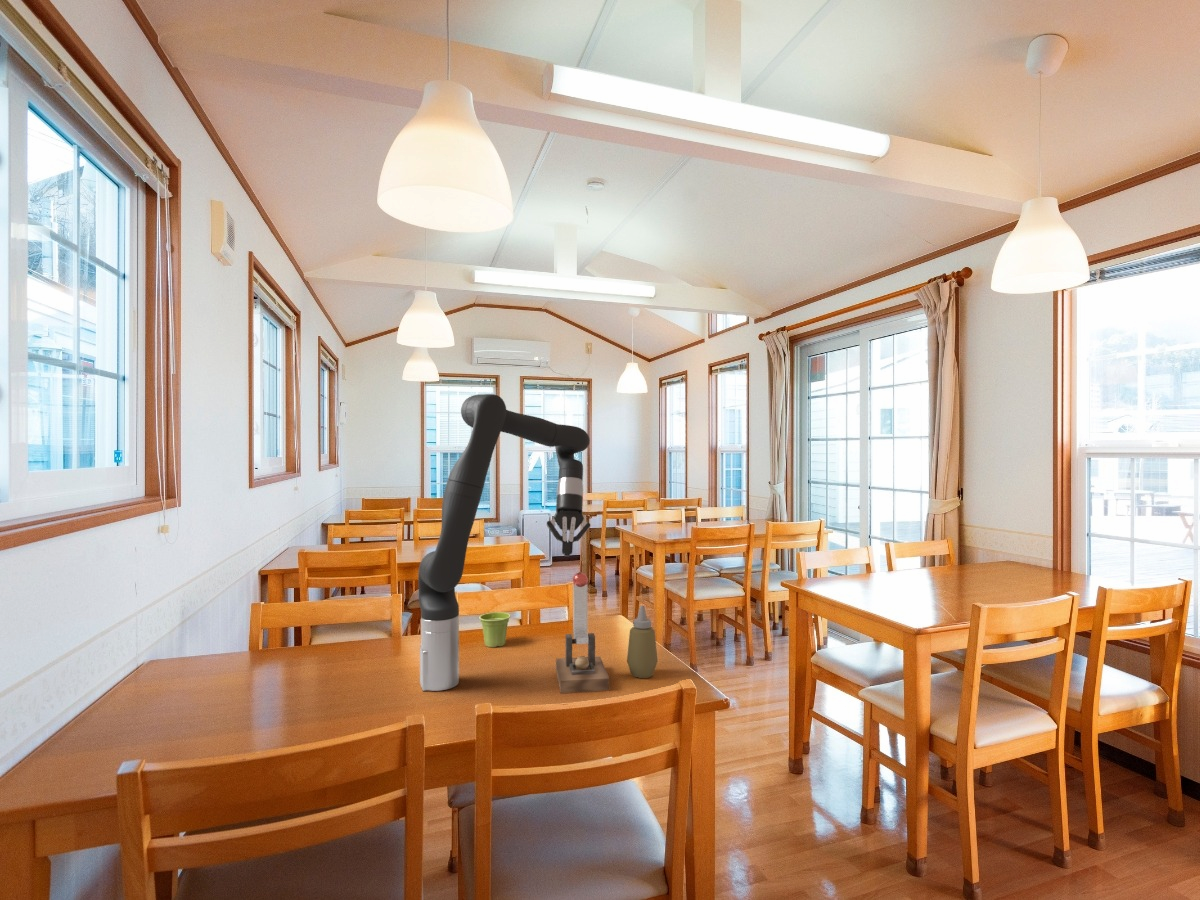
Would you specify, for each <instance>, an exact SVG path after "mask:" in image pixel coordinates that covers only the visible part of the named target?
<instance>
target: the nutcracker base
mask: <svg viewBox="0 0 1200 900" xmlns="http://www.w3.org/2000/svg"><path fill="white" fill-rule="evenodd" d="M587 635H588V644H587V656H585V657H586V658H587V659H588V661H589V666H588V668H587V669H586V670H579V669H577V667H576V665H575V661H576V659H577V658H578V657H573V645H574V644H576V640H575V639H574V638H573V634H571V633H566V634H565V658H564V657H563V658H561V657H560V658H556V659H555V663H556V664H555V671H557V672H556V676H557V682H559V683H558V687H560V688H559V693H560V694H569V693H571V692H572V693H587V692H588V691H592V692H603V691H604V692H606V690H609V691H610V676H609V674H608V672H607V670H606V667H605V665H604V662H603V660H602V658H601V656H596V635H595V633H594V632H587ZM576 645H577V644H576ZM572 693H571V694H572Z"/></svg>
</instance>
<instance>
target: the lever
mask: <svg viewBox="0 0 1200 900" xmlns="http://www.w3.org/2000/svg"><path fill="white" fill-rule="evenodd" d="M588 582H589V578H588V576H587V574H586V573H584V572H582V571H581V572H576V573H575V574H574V575H573V576H572V600H573V601H572V607H573V608H572V609H573V610H572V611H573V612H572V638H573V639H575V640H576V645H584V644H587V645H588Z"/></svg>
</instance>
